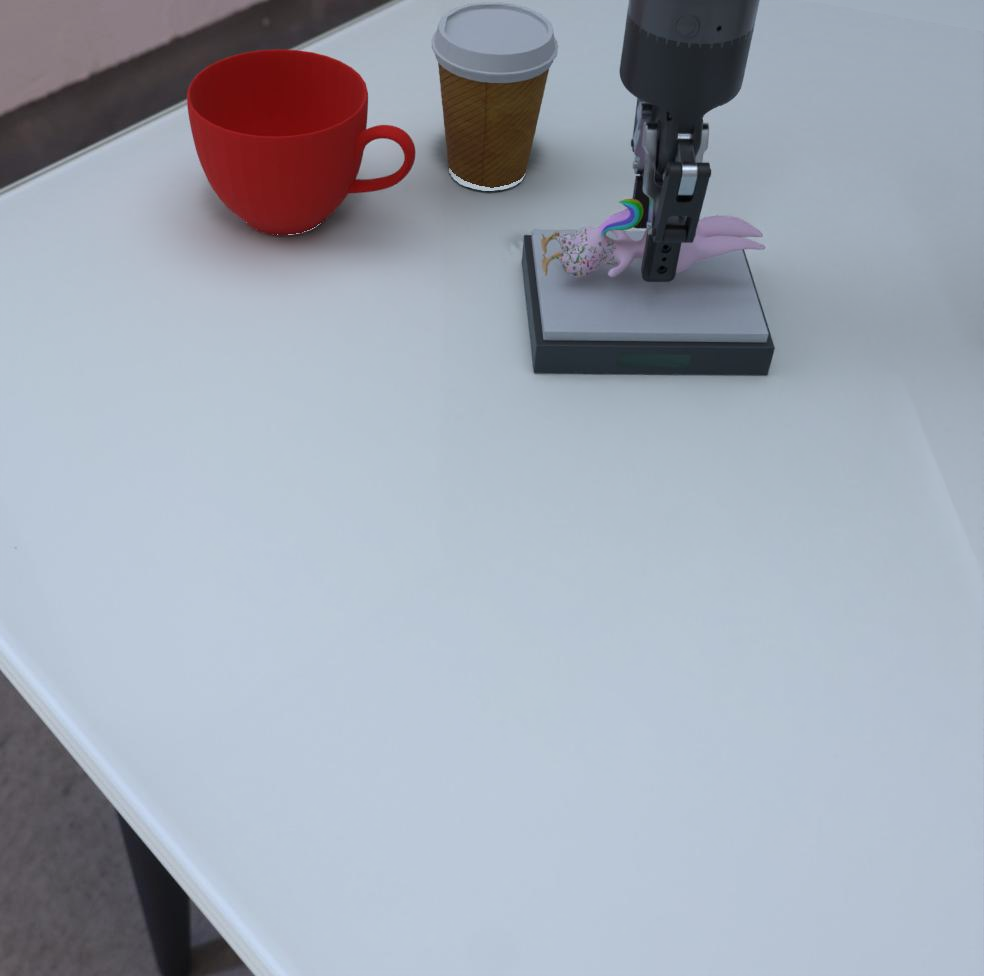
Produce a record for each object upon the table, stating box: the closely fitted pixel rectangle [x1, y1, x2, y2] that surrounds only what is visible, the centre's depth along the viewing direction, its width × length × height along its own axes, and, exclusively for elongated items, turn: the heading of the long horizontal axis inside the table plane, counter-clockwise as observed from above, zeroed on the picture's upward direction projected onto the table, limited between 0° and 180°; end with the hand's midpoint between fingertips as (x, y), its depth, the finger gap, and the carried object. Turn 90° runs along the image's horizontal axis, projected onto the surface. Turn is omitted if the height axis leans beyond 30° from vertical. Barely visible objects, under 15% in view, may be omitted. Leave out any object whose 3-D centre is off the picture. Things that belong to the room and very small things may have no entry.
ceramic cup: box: [186, 48, 416, 236], centre depth 97 cm, size 13×17×10 cm
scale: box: [521, 228, 776, 376], centre depth 92 cm, size 16×13×3 cm
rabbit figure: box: [541, 198, 766, 277], centre depth 88 cm, size 6×6×15 cm
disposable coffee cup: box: [431, 1, 559, 188], centre depth 102 cm, size 10×10×12 cm
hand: (650, 250), depth 89 cm, fingers closed on rabbit figure, 5 cm apart
